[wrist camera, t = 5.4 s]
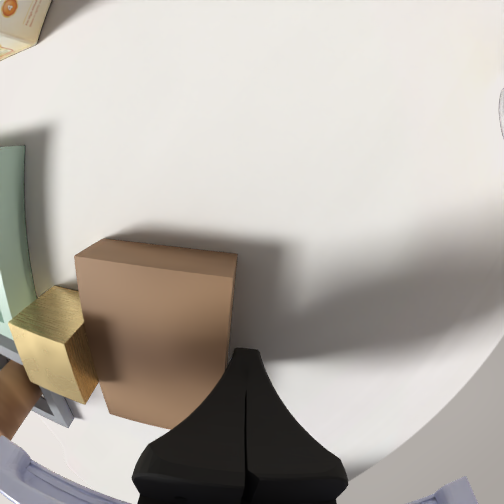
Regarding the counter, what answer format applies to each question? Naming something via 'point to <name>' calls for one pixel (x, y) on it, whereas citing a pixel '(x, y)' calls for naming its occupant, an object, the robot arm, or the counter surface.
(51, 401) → the socket
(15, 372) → the dowel
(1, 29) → the coffeecake box
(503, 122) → the supplement bottle
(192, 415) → the robot arm
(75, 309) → the tan cube
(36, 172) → the counter surface
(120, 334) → the brown flat block
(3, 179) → the tray
